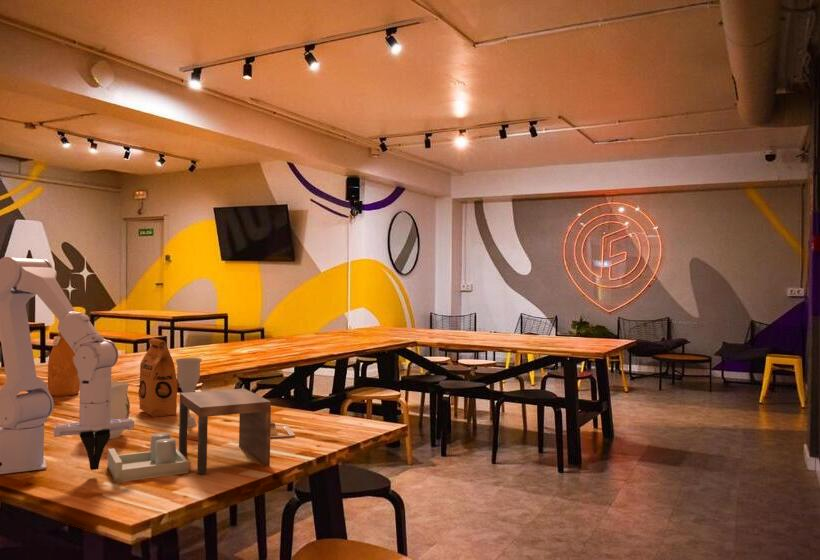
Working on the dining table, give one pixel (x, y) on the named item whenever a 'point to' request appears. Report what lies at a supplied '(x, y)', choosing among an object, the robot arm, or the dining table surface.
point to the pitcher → (119, 404)
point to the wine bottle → (62, 369)
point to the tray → (148, 461)
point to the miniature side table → (226, 403)
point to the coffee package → (158, 381)
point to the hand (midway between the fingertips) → (94, 468)
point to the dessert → (274, 431)
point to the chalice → (188, 379)
